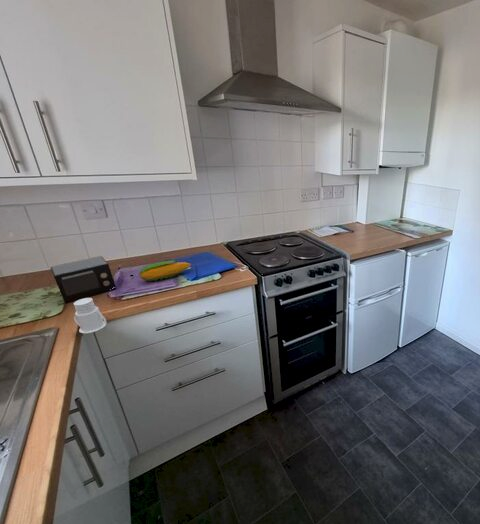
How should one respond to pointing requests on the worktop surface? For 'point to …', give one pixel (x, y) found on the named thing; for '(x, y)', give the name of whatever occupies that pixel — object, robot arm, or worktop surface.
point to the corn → (162, 270)
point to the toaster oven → (83, 278)
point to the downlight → (88, 316)
